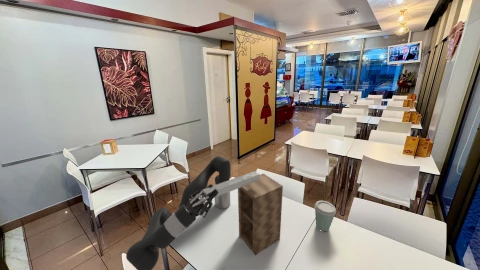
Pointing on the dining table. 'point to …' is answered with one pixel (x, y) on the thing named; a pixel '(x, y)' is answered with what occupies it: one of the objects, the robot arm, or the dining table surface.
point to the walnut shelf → (260, 213)
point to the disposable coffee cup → (324, 215)
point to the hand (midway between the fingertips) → (214, 188)
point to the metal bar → (232, 184)
